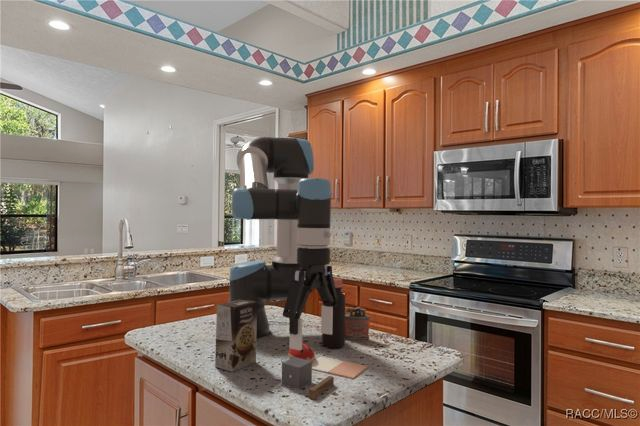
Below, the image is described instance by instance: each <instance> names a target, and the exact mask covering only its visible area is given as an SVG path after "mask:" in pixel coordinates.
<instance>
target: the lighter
mask: <svg viewBox="0 0 640 426" xmlns="http://www.w3.org/2000/svg"><path fill="white" fill-rule="evenodd" d="M346 313H347V314H346ZM348 313H349V314H348ZM353 313H354V314H353ZM366 313H367V312H366V309H365V308H361V307H359V306H357V307H355V308H354V307H345V341H354V342H355V341H356V342H358V341H359V342H368V341H369V340H370V336H369V335H370V334H369V333H370V332H369V330H370V329H369V327H370V325H369V324H370V315H368V314H366Z"/></svg>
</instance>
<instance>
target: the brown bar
mask: <svg viewBox="0 0 640 426" xmlns="http://www.w3.org/2000/svg"><path fill="white" fill-rule="evenodd" d="M334 378H335V377H334V376H332V375H328V376H327V377H325V378H324V379H323V380H321V381H319V382H318V383H316V384H315V385H313V386H311V388H309V389H308V399H311V400H315V399H316V398H318V397H319V396H320V395H322V394H323V393H324V392H326V391H327V390H329V389H330V388H331V387H333V386H334V385H335V383H334V381H335V379H334Z"/></svg>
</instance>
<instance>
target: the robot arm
mask: <svg viewBox="0 0 640 426" xmlns="http://www.w3.org/2000/svg"><path fill="white" fill-rule="evenodd" d="M236 165H237V167H238V170H239V187H236V188H233V190H232V198H231V199H232V200H231V202H232V205H231V207H232V210H231V214H232V217H233V218H235V219H237V220H238V219H239V220H240V219H242V220H247V221H248V220H249V221H251V220H277V221H276V224H277V225H276V226H277V227H276V228H277V229H276V255H275V256H274V257H273V258H271V264H270V265H269V264H266V261H265V260H252V261H244V262H239V263H236V264H233V265H232V266H231V267H230V269H229V279H228V281H229V293H228V295H229V296H228V302H231V301H235V300H240V299H241V300H249V301H256V302H257V334H256V338H260V337H265V336H267V335H268V334H269V333H270V323H269V320H268V315H267V313H266V308H265V307H266V306H265V305H266V304H265V302H266V301H284V300H285V304H284V308H283V310H282V317H284V318H285V319H286V318H287V319H289V322H288V323H289V325H288V326H289V327H288V328H289V329H288V330H289V345H288V347H289V349H290V348H291V349H296V350H302V343H303V320H304V319H303V318H302V317H301V316H302V313H303V311H304V308H305V307H306V304H307V301H308V299H309V296H310V294H311V293H312V292H313V291H314V290H315V289H316V291H317V292H318V295H319V297H320V299H321V302H322V305H321V312H320V313H321V315H320V316H321V317H320V319H321V321H320V334H322V333H324V334H329V335H331V334H332V325H333V306H337V301H338V297H337V293H336V288H335V284H334V280H333V278H334V276H333V266H332V265H330V263H331V249H330V247H328V246H330V244H331V236H332V232H331V219H332V218H331V214H332V212H331V210H332V207H331V206H332V195H333V194H332V186H331V185H332V184H331V181H330V180H329V179H327V178H320V177H319V178H318V177H309V176H310V175H312V174H314V171H315V170H314V169H315V168H314V166H315V162H314V151H313V147H312V145H311V142H310V141H309V140H307V139H304V138H297V137H295V138H293V137H272V136H270V137H269V136H263V137H262V136H261V137H258V138H257V137H256V138H254V139H252V140H250V141H248V142H247V143H245V144H244V145H243V146H242V147H241V148H240V150H239V151H238V153H237V155H236ZM267 173H268V174H269V173H270V174H271V173H272V174H273V179H274V181H276V183H277V188H276V189H275V188H270V187H269V186H270V185H269V181H268V180H269V179H268V174H267ZM332 296H333V297H332ZM323 304H324V305H325V306H323Z"/></svg>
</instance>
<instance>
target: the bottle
mask: <svg viewBox="0 0 640 426" xmlns="http://www.w3.org/2000/svg"><path fill="white" fill-rule="evenodd" d="M333 280H334V284H335V288H336V293H337V297H338V301H337V306H333V325H332V334H331V335H329V334H324V333H321V336H322V337H321V346H322V347H324V348H327V349H331V350H338V349H342V348H344V347H345V346H346V345H345V343H346V340H345V315H346V295H345V294H344V293H343V292H342V289H343V279H342V278H337V277H336V278H335V277H333ZM332 297H333V296H332ZM322 306H325V305H324V304H323V303H322Z"/></svg>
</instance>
